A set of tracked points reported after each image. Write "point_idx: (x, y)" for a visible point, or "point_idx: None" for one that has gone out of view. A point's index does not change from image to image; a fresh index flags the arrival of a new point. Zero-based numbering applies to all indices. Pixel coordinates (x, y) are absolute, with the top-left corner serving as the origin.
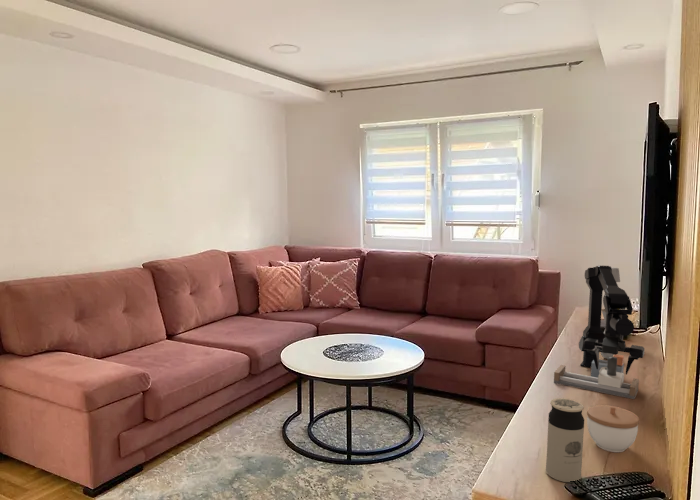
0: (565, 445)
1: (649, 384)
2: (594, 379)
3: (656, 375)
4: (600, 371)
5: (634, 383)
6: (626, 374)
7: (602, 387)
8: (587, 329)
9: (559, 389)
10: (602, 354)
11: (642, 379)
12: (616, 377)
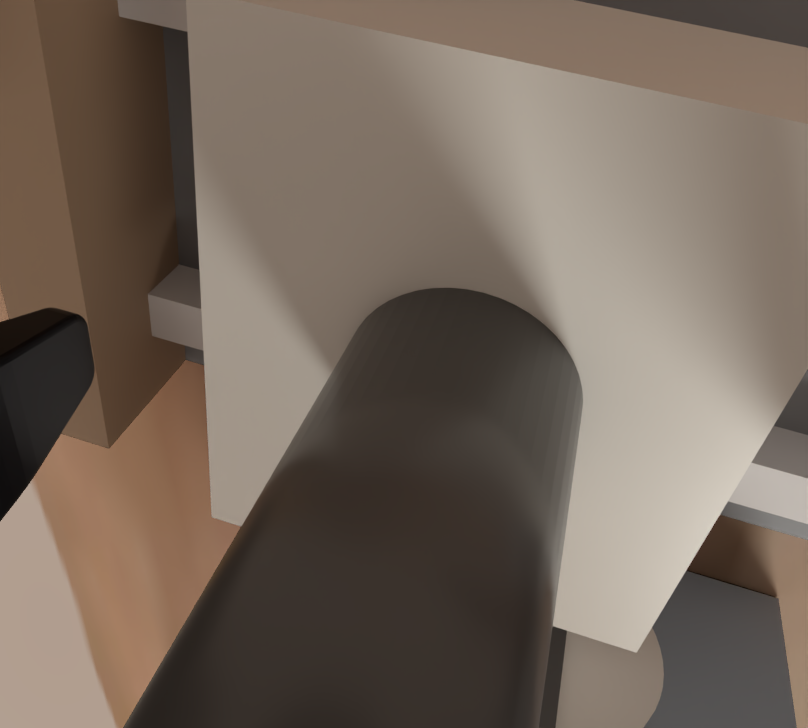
0: None
1: (94, 523)
2: (797, 455)
3: (108, 704)
4: (640, 676)
5: (10, 162)
6: (63, 310)
7: None
8: None
9: None
10: None
11: (180, 626)
12: (324, 167)
